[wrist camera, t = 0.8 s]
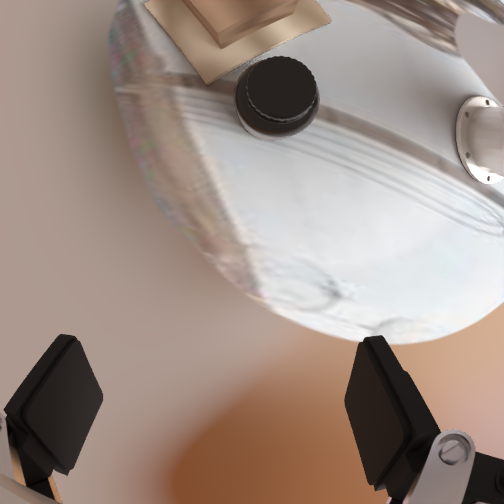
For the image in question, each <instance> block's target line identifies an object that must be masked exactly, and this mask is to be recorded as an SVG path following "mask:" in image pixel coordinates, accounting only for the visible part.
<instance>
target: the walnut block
mask: <svg viewBox="0 0 504 504" xmlns="http://www.w3.org/2000/svg"><path fill="white" fill-rule="evenodd" d="M181 1H182V2H183V3H184V4H185V6H186V7H187V8H188V9H189V10H190V11H191V12H192V14H193V15H194V16H195V17H196V18H197V20H198V21H199V22H200V23H201V24H202V25H203V27H204V28H205V29H206V30H207V32H208V33H209V34H210V35H211V36H212V38H213V39H214V40H215V41H216V43H217V44H218V45H219V47H220V48H221V49H223V48H225V47H227V46H229V45H231V44H232V43H234V42H236V41H238V40H240V39H242V38H243V37H245V36H247V35H249V34H251V33H253V32H255V31H257V30H259V29H261V28H263V27H265V26H268V25H270V24H272V23H274V22H276V21H278V20H281V19H283V18H285V17H288V16H290V15H292V14H293V13H294V11H295V8H296V5H297V3H298V0H181Z"/></svg>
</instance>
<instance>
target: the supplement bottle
mask: <svg viewBox="0 0 504 504" xmlns="http://www.w3.org/2000/svg"><path fill="white" fill-rule="evenodd" d="M319 101H320V98H319V91H318V87H317V85H316V82H315V80H314V76H313V75H312V74H311V71H310V70H309V69H308V68H307V66H305V65H303V63H302V62H299V61H297V60H296V59H291V58H290V57H284V56H279V57H277V56H274V57H272V58H267V59H265V60H262V61H259V62H257V63H255V64H253V65H251V66H250V67H248V68H247V69H246V70H245V71H244V72H243V73H242V74H241V76H240V77H239V79H238V81H237V83H236V86H235V91H234V103H235V107H236V111H237V114H238V116H239V119H240V121H241V123H242V125H243V127H244V128H245V129H246V130H247V131H248V132H249V133H250V134H252V135H253V136H255V137H257V138H259V139H262V140H268V141H275V140H281V139H284V138H287V137H290V136H292V135H295V134H297V133H299V132H301V131H302V130H304V129H305V128H306V127H307V126H308V125H309V124H310V123H311V122H312V121H313V119H314V118H315V116H316V114H317V111H318V108H319Z"/></svg>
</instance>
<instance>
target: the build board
mask: <svg viewBox="0 0 504 504" xmlns="http://www.w3.org/2000/svg"><path fill="white" fill-rule="evenodd" d="M144 5H145V6H146V7H147V9H148V10H149V11H150V12H151V13H152V15H153V16H154V17H155V18H156V20H157V21H158V22H159V23H160V24H161V26H162V27H163V28H164V29H165V31H166V32H167V33H168V34H169V36H170V37H171V38H172V40H173V41H174V42H175V43H176V45H177V46H178V47H179V49H180V50H181V51H182V52H183V54H184V55H185V56H186V58H187V59H188V60H189V62H190V63H191V64H192V66H193V67H194V68H195V70H196V71H197V72H198V74H199V75H200V76H201V78H202V79H203V81H204V82H205V83H206V85H207V86H208V85H209V84H211V83H212V82H214V81H216V80H217V79H219V78H220V77H222V76H224V75H225V74H227V73H229V72H230V71H232V70H234V69H235V68H237V67H239V66H241V65H242V64H244V63H246V62H248V61H250V60H251V59H253V58H255V57H257V56H259V55H261V54H263V53H265V52H267V51H268V50H270V49H272V48H274V47H276V46H278V45H280V44H283V43H285V42H287V41H289V40H291V39H293V38H295V37H298V36H300V35H302V34H304V33H307V32H309V31H311V30H314V29H316V28H318V27H321V26H323V25H326V24H328V23H330V22H331V18H330V17H329V16H328V15H327V14H326V12H325V11H324V10H323V9H322V7H321V6H320V5H319V4H318V3H317V2H316V0H298V3H297V5H296V8H295V11H294V13H293V14H292V15H290V16H288V17H285V18H283V19H281V20H278V21H276V22H274V23H272V24H270V25H268V26H265V27H263V28H261V29H259V30H257V31H255V32H253V33H251V34H249V35H247V36H245V37H243V38H242V39H240V40H238V41H236V42H234V43H232V44H231V45H229V46H227V47H225V48H223V49H221V48H220V47H219V45H218V44H217V43H216V41H215V40H214V39H213V38H212V36H211V35H210V34H209V33H208V32H207V30H206V29H205V28H204V27H203V25H202V24H201V23H200V22H199V21H198V20H197V18H196V17H195V16H194V15H193V14H192V12H191V11H190V10H189V9H188V8H187V7H186V6H185V4H184V3H183V2H182V1H181V0H149V1H148V2H146V3H145V4H144Z"/></svg>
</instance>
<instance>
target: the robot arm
mask: <svg viewBox="0 0 504 504" xmlns="http://www.w3.org/2000/svg"><path fill="white" fill-rule="evenodd" d="M456 142H457V147H458V152H459V155H460V158H461V160H462V163H463V165H464V167H465V168H466V170H467V172H468V173H469V174H470V175H471V176H472V177H473V178H474V179H475V180H477V181H478V182H481V183H484V184H495V183H497V182H499V181H500V180H501V179H502V178H503V177H504V106H498V105H497V104H496V103H495V102H494V101H492V100H491V99H489V98H487V97H484V96H476V97H471V98H469V99H467V100H466V101H465V102H464V103H463V105H462V107H461V108H460V110H459V113H458V116H457V122H456ZM102 401H103V393H102V390H101V388H100V387H99V384H98V382H97V380H96V378H95V376H94V373H93V371H92V369H91V367H90V365H89V362H88V360H87V357H86V355H85V352H84V350H83V347H82V345H81V343H80V341H78V340H77V338H76V337H75V336H72V335H65V334H60V335H59V336H58V337H57V338H56V339H55V341H54V342H53V343H52V344H51V345H50V347H49V348H48V349H47V350H46V352H45V353H44V354H43V356H42V357H41V358H40V360H39V361H38V362H37V363H36V365H35V366H34V367H33V369H32V370H31V371H30V373H29V374H28V375H27V377H26V378H25V379H24V381H23V382H22V384H21V385H20V386H19V388H18V389H17V391H16V392H15V393H14V395H13V396H12V398H11V399H10V401H9V402H8V404H7V405H6V407H5V408H4V411H5V413H6V414H7V416H6V418H5V417H4V416H3V415H2V413H0V504H63V503H62V500H61V497H60V495H59V492H58V490H57V487H56V484H55V481H54V478H53V476H52V471H53V469H54V470H55V471H57V472H59V473H62V474H65V475H68V473H69V471H70V470H71V469H73V468H74V466H75V463H76V461H77V458H78V456H79V454H80V451H81V449H82V446H83V444H84V442H85V439H86V437H87V435H88V432H89V430H90V428H91V426H92V423H93V421H94V419H95V417H96V415H97V412H98V410H99V408H100V406H101V404H102ZM344 401H345V408H346V411H347V414H348V417H349V420H350V424H351V427H352V430H353V434H354V437H355V440H356V443H357V447H358V450H359V453H360V457H361V460H362V464H363V467H364V471H365V474H366V478H367V481H368V483H369V485H374V489H375V491H378V490H382V489H385V488H386V489H387V493H388V496H389V499H388V501H387V503H386V504H504V460H502V459H499V458H495V457H492V456H489V455H485V454H482V453H479V452H476V451H475V445H474V441H473V440H472V438H471V437H470V436H469V435H468V434H466V433H465V432H463V431H460V430H454V429H452V430H446V431H444V432H442V433H441V431H440V429H439V427H438V425H437V424H436V422H435V420H434V418H433V416H432V414H431V412H430V410H429V409H428V407H427V405H426V403H425V401H424V400H423V398H422V396H421V394H420V392H419V391H418V389H417V387H416V385H415V384H414V382H413V380H412V378H411V377H410V375H409V374H408V372H406V371H404V370H403V369H402V367H401V365H400V363H399V362H398V360H397V358H396V356H395V355H394V353H393V351H392V350H391V348H390V346H389V345H388V343H387V341H386V340H385V338H384V337H383V336H382V335H379V336H371V337H365V338H364V340H363V342H360V343H359V344H358V348H357V352H356V356H355V360H354V364H353V369H352V372H351V376H350V380H349V383H348V387H347V391H346V394H345V400H344Z"/></svg>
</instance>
